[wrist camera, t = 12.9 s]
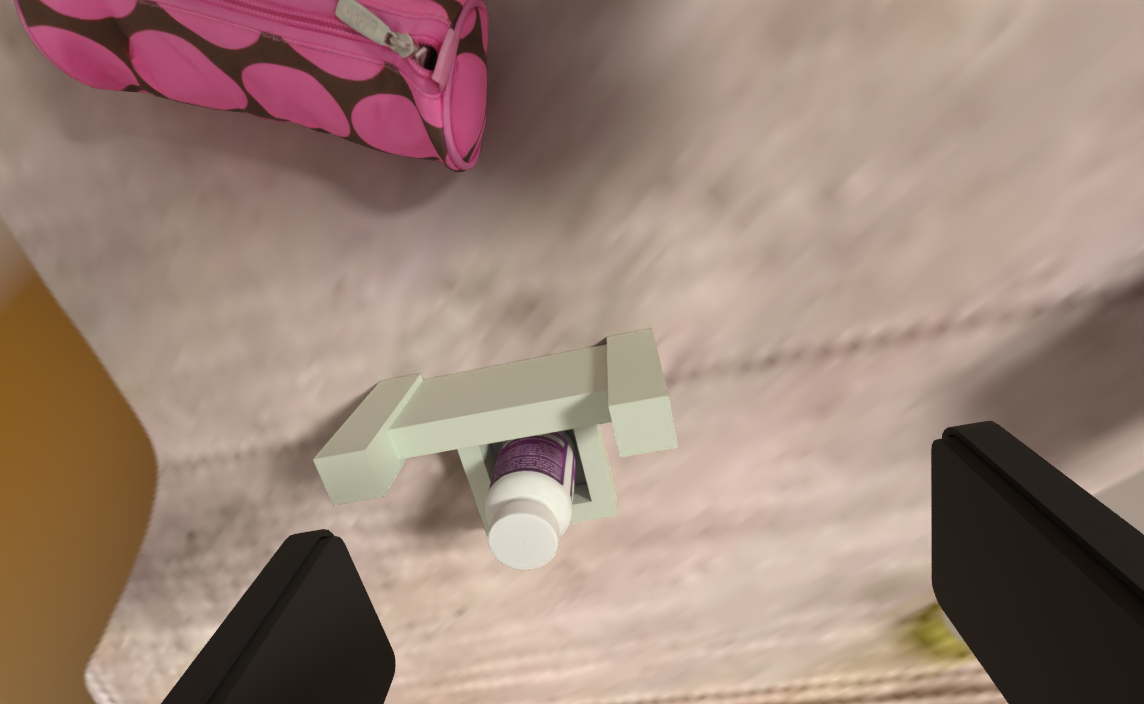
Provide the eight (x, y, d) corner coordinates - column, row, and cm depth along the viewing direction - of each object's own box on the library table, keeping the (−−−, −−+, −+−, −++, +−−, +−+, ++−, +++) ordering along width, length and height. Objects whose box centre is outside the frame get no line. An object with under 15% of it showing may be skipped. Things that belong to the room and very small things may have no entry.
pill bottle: (486, 440, 41) (454, 530, 32) (547, 404, 40) (532, 486, 31) (531, 494, 42) (512, 594, 33) (591, 461, 41) (588, 555, 32)
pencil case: (515, -16, 31) (477, -76, 22) (492, 170, 35) (452, 187, 25) (117, -94, 30) (-95, -190, 21) (136, 102, 34) (-38, 94, 25)
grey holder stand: (379, 381, 40) (312, 459, 31) (651, 328, 38) (668, 395, 28) (433, 523, 44) (389, 630, 35) (680, 484, 42) (703, 587, 32)
